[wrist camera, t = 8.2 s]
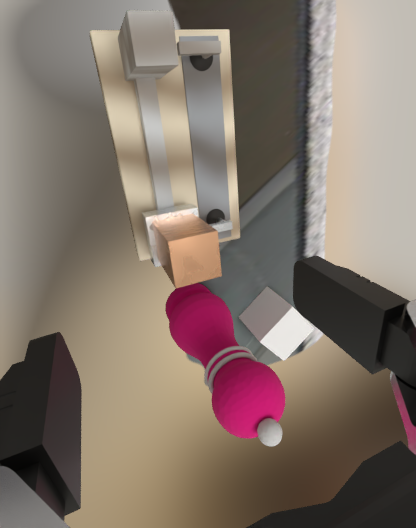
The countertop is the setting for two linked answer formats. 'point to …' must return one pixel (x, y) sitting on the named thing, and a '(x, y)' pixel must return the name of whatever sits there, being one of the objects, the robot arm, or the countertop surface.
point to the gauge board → (170, 118)
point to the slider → (184, 243)
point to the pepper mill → (227, 365)
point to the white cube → (275, 323)
